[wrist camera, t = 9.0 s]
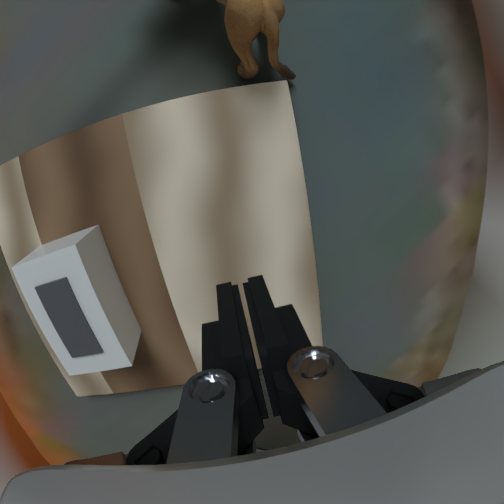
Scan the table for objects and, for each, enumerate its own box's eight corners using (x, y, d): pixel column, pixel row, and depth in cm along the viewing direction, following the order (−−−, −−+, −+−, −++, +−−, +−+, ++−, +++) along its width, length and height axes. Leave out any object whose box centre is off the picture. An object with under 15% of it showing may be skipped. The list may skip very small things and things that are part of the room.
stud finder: (98, 224, 17) (73, 245, 13) (141, 330, 20) (131, 368, 16) (40, 245, 17) (9, 269, 13) (85, 342, 20) (68, 377, 16)
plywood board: (281, 84, 17) (287, 80, 16) (317, 340, 25) (323, 351, 23) (-7, 173, 16) (-18, 176, 14) (81, 385, 23) (77, 396, 21)
